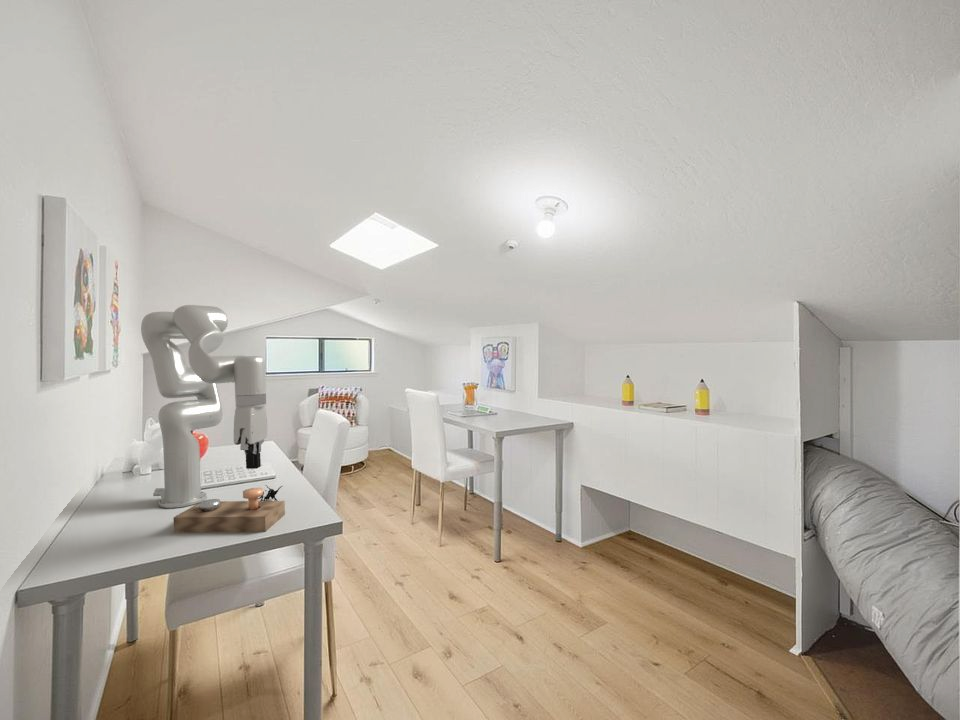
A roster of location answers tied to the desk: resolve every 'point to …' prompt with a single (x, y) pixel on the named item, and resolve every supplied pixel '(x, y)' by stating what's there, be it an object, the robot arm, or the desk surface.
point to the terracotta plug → (253, 497)
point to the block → (230, 517)
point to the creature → (270, 494)
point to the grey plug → (209, 504)
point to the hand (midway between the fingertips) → (253, 467)
